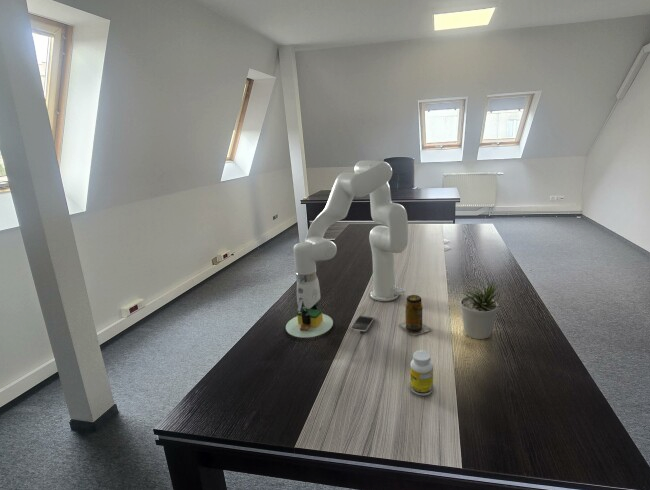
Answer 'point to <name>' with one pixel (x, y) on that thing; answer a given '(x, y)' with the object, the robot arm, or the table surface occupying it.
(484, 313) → the potted plant
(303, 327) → the crumb
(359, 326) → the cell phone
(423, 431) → the table surface
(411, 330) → the condiment
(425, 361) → the pill bottle
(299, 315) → the sponge
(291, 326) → the plate
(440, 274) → the table surface
